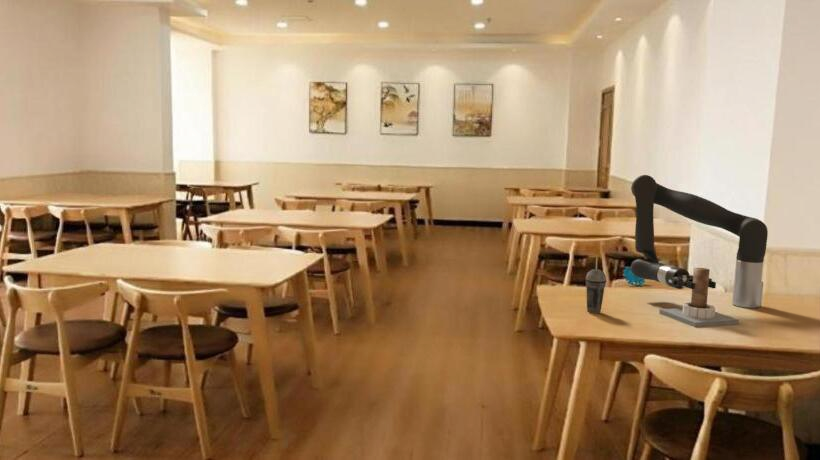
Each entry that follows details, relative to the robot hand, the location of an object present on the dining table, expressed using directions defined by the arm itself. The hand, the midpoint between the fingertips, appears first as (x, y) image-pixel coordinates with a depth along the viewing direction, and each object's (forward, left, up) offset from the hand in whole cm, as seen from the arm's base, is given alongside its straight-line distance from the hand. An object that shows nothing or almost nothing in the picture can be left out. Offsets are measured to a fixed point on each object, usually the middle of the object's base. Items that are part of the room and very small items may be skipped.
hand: (704, 285), depth 232 cm
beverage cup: (+32, -17, -12) cm, 38 cm away
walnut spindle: (0, -2, -10) cm, 11 cm away
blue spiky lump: (-13, -56, -12) cm, 59 cm away
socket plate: (0, -2, -12) cm, 12 cm away
